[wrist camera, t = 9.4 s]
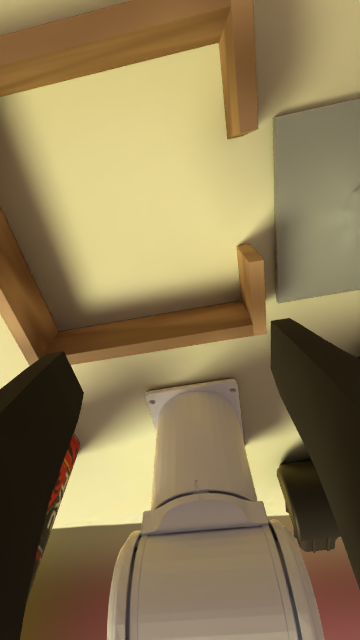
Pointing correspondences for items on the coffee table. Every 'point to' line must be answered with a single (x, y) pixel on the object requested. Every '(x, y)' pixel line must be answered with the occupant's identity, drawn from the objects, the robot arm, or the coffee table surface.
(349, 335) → the coffee table surface
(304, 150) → the mat
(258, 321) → the open pen
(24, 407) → the robot arm
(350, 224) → the milkshake
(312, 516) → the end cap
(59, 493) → the deodorant
